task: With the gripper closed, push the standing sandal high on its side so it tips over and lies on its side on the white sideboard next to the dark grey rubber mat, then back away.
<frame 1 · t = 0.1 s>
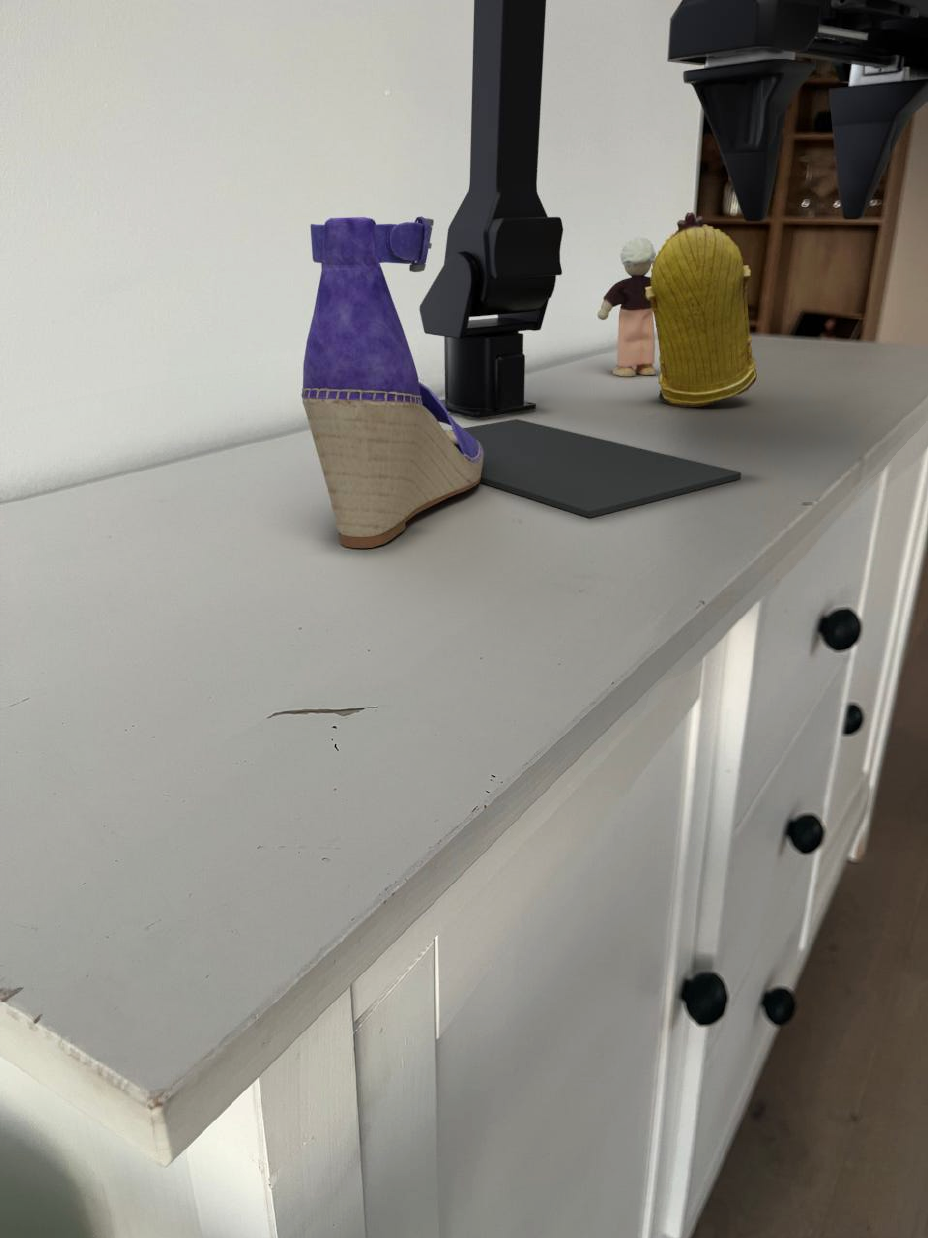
hand: (806, 220, 53), 15 cm above the sideboard, tool pointing down, fingers open, 9 cm apart
shrine: (696, 408, 81), on the sideboard
mat: (546, 462, 63), on the sideboard
grandmother figurine: (630, 375, 97), on the sideboard
sandal: (402, 497, 56), on the sideboard, touching mat
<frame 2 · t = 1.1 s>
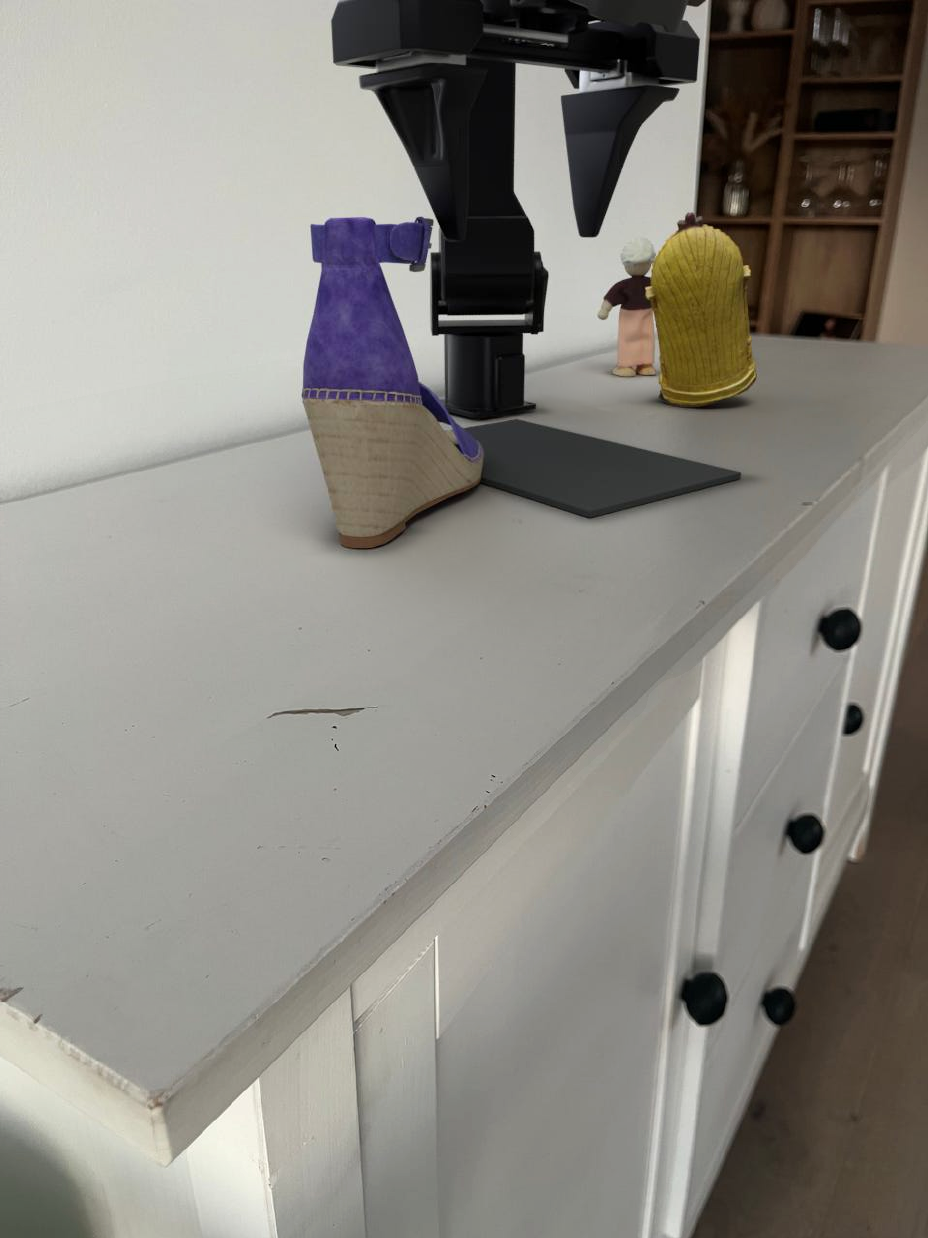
hand: (525, 238, 49), 14 cm above the sideboard, tool pointing down, fingers open, 9 cm apart
sandal: (402, 497, 56), on the sideboard, touching gripper
everything else where it was.
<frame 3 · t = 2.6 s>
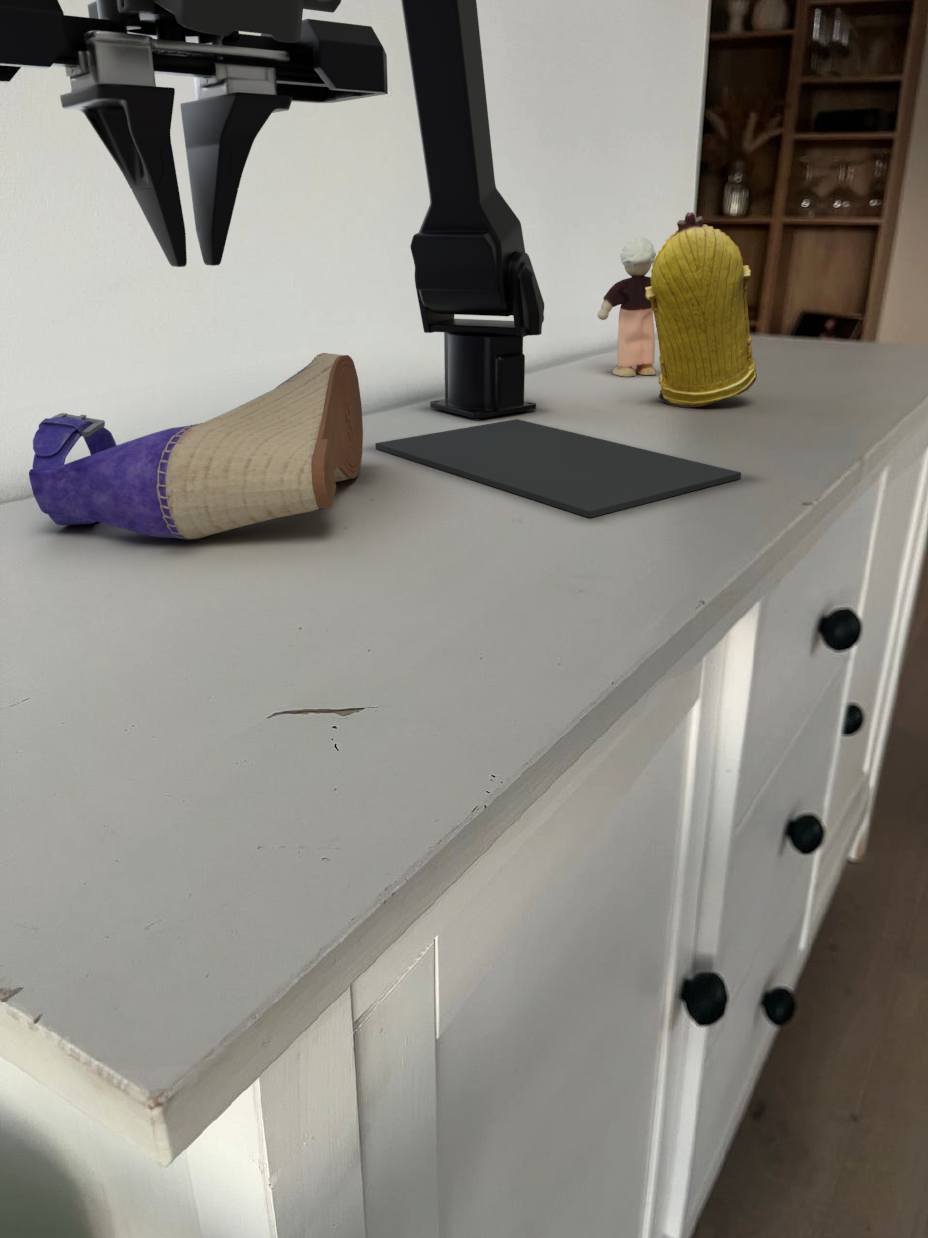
hand: (195, 265, 45), 13 cm above the sideboard, tool pointing down, fingers closed
sandal: (349, 438, 55), point 3 cm above the sideboard
everything else where it was.
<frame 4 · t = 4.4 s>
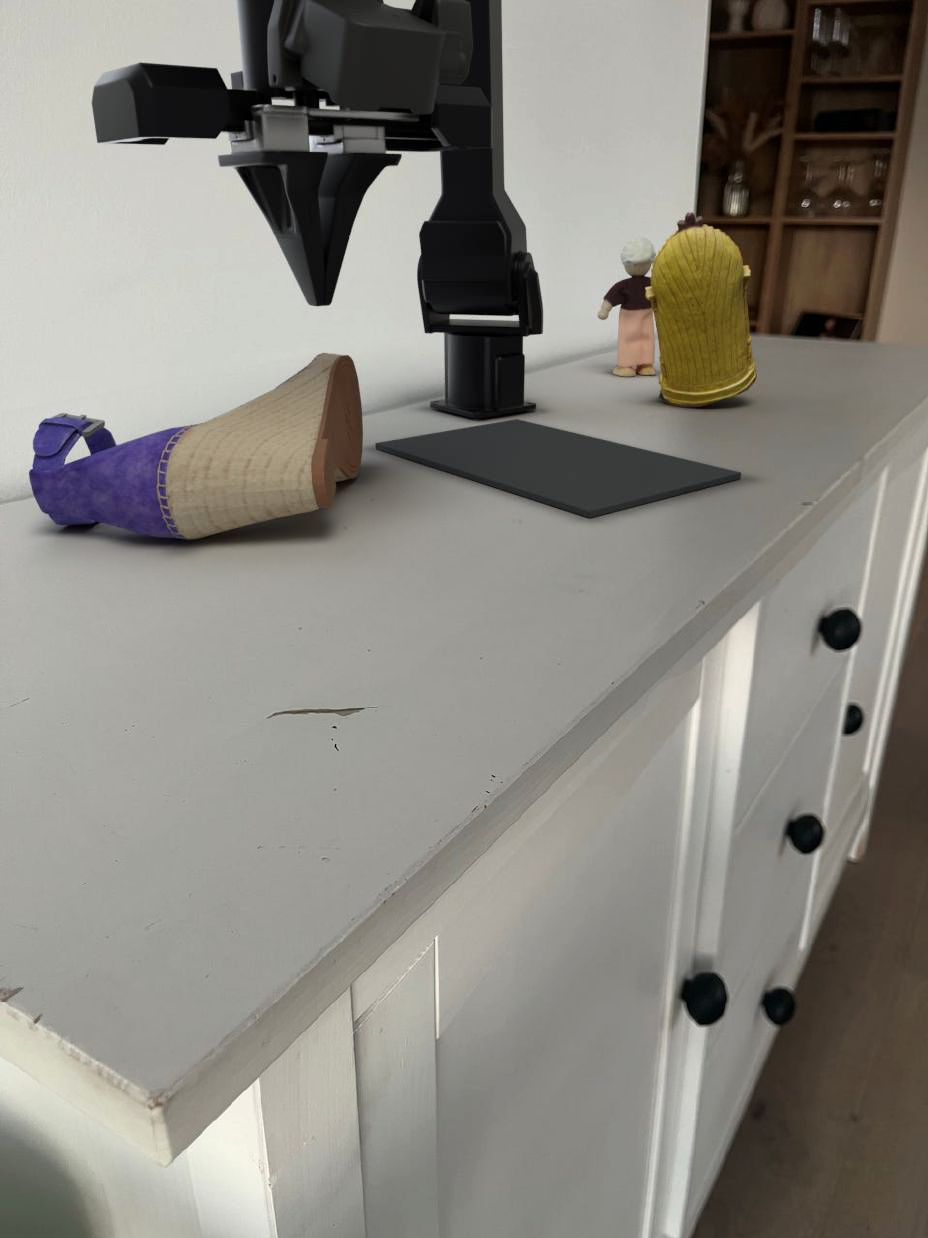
hand: (319, 305, 49), 11 cm above the sideboard, tool pointing down, fingers closed
nothing on the sideboard moved.
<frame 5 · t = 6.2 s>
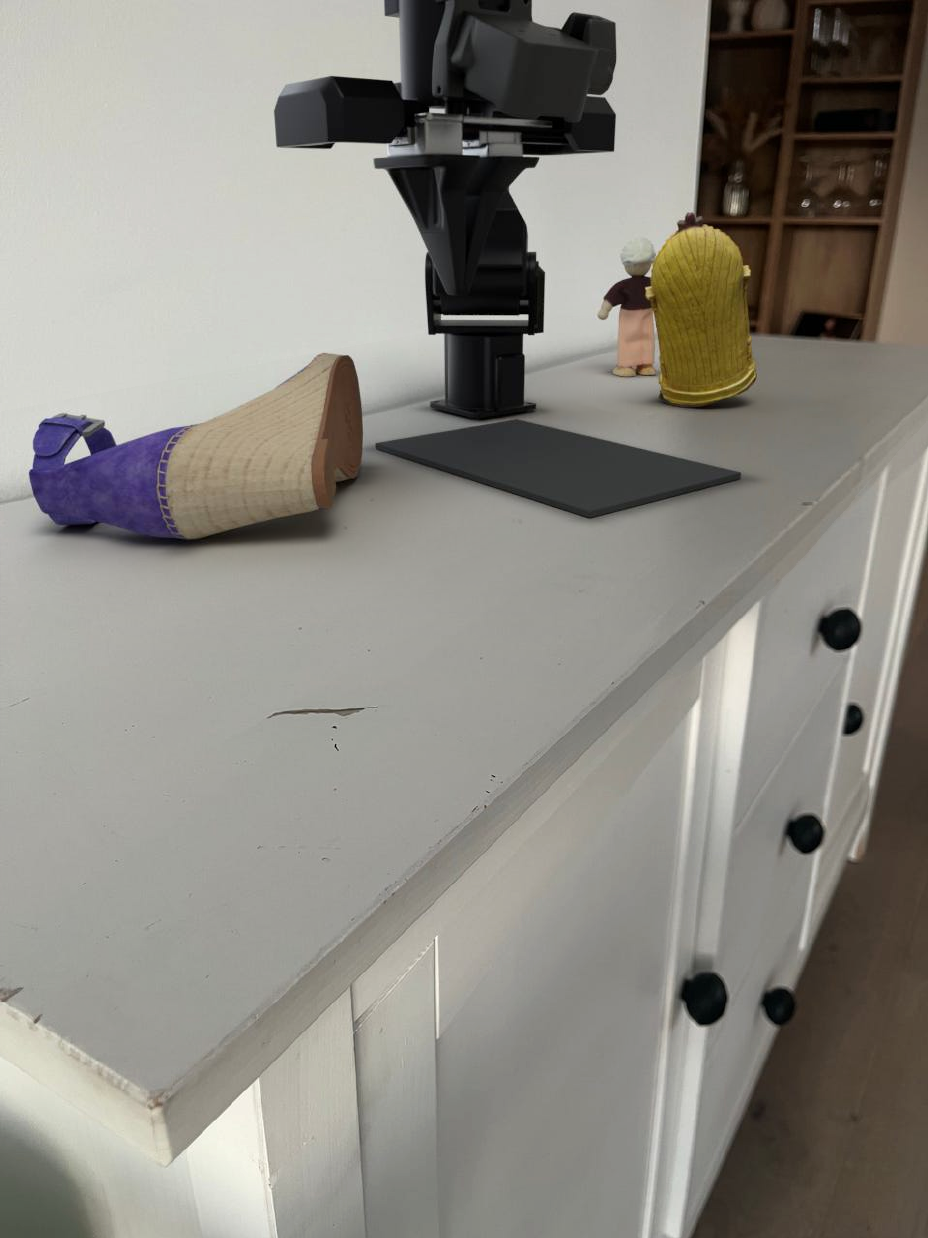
hand: (457, 294, 54), 11 cm above the sideboard, tool pointing down, fingers closed
nothing on the sideboard moved.
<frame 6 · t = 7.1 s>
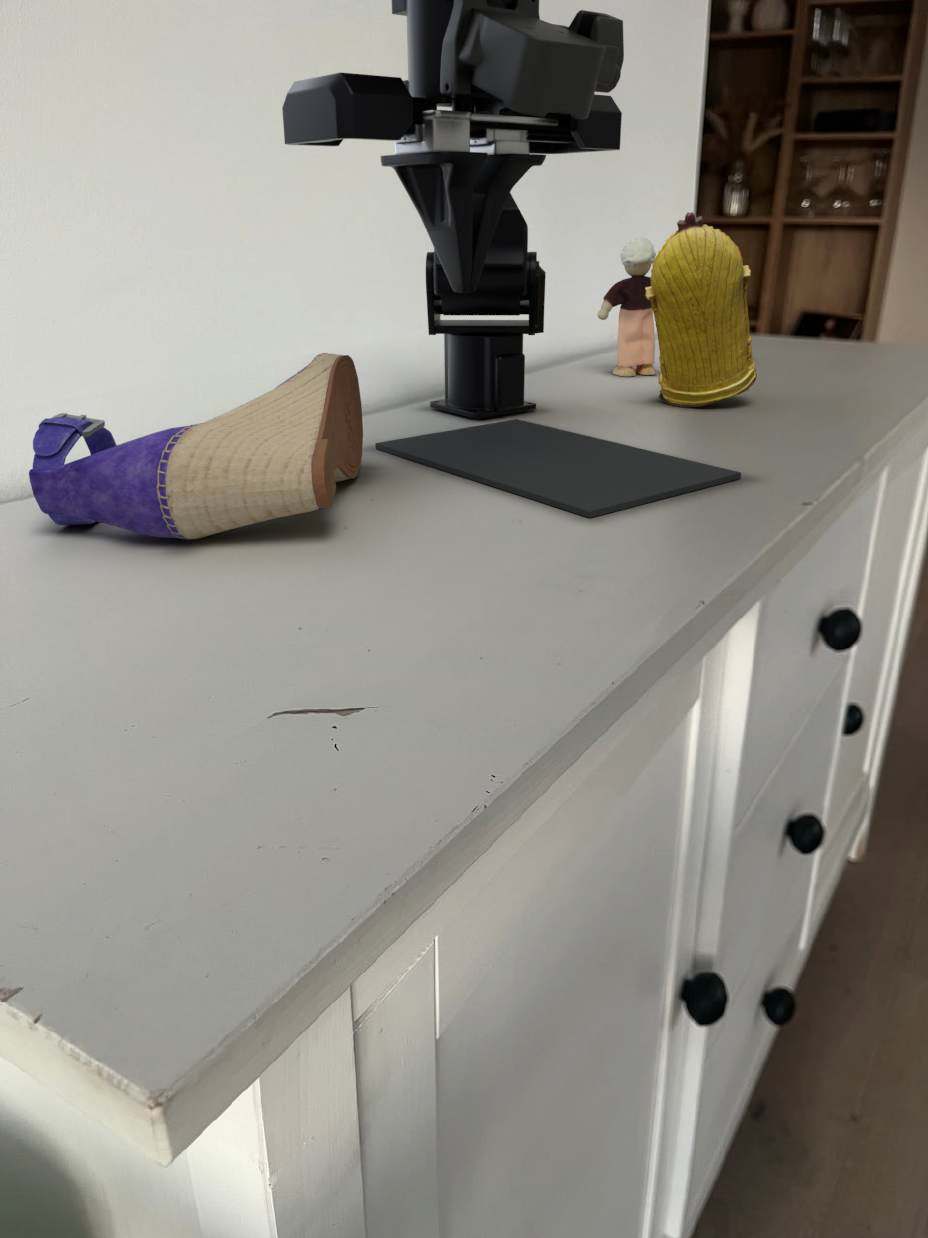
hand: (464, 291, 55), 11 cm above the sideboard, tool pointing down, fingers closed
nothing on the sideboard moved.
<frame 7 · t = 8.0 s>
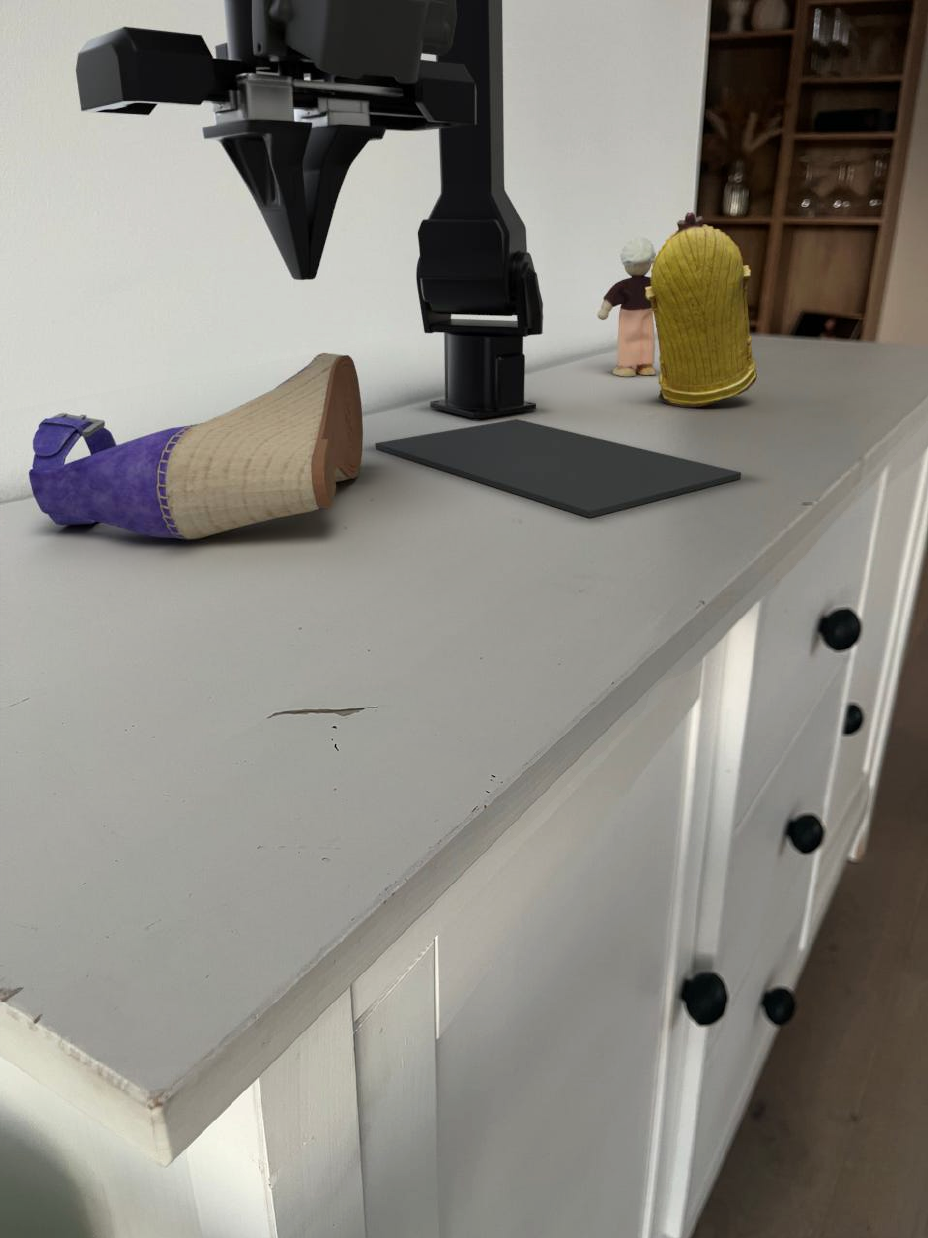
hand: (304, 279, 50), 12 cm above the sideboard, tool pointing down, fingers closed
nothing on the sideboard moved.
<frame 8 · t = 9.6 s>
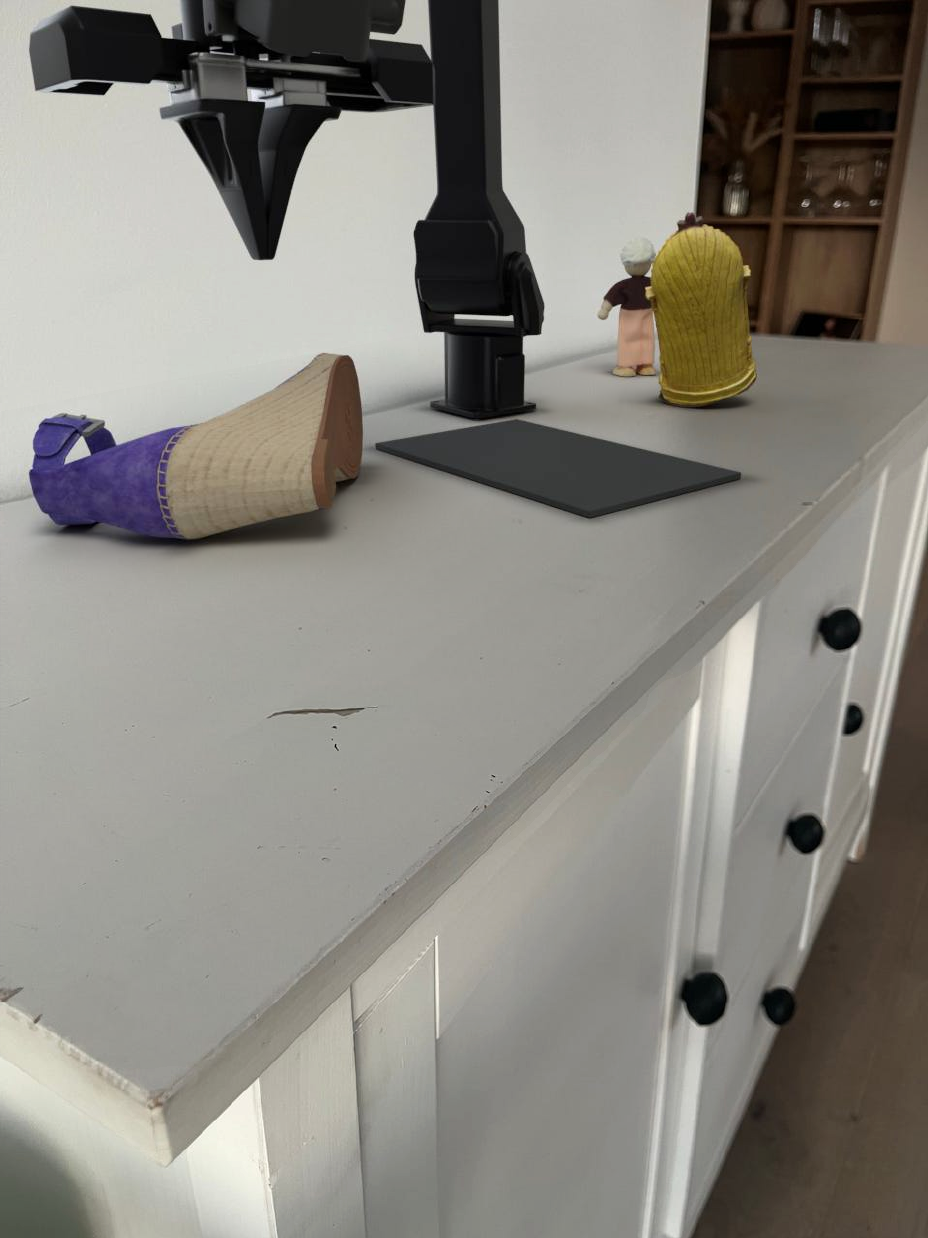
hand: (263, 259, 50), 13 cm above the sideboard, tool pointing down, fingers closed
nothing on the sideboard moved.
at the end: sandal tilted 93°; sandal inside the target area (5.9 cm from its centre), point 3.4 cm above the sideboard; shrine moved 0.2 cm from its start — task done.
